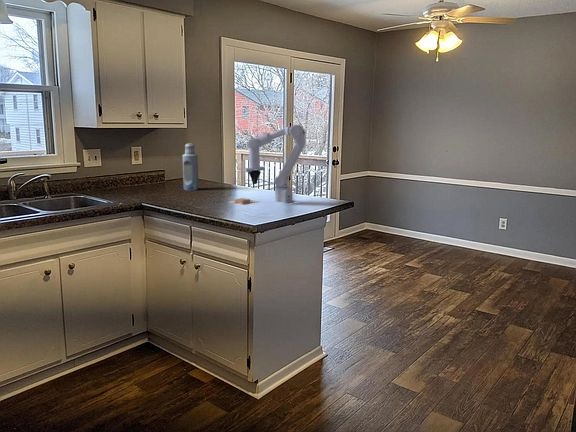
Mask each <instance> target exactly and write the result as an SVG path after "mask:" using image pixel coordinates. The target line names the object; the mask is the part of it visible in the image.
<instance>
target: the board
mask: <svg viewBox="0 0 576 432" xmlns="http://www.w3.org/2000/svg"><path fill="white" fill-rule="evenodd" d="M228 203H230V204H237V205H242V206H247V205H252V204H256V203H257V204H258V203H260V200H259V201H258V200H253V199H252V200H251V199H250V202H249V203H244V204H241V203H235V199H234V200H231V201H230V200H229V201H228Z"/></svg>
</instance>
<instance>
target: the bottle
mask: <svg viewBox="0 0 576 432" xmlns="http://www.w3.org/2000/svg"><path fill="white" fill-rule="evenodd" d="M198 159H199V158H198V154H196V151H195V144H193V143H186V144H185V145H184V154H182V180H183V190H184V191H197V190H199V169H198V168H199V162H198Z"/></svg>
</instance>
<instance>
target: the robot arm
mask: <svg viewBox="0 0 576 432" xmlns="http://www.w3.org/2000/svg"><path fill="white" fill-rule="evenodd" d="M282 136H291V138H292V139H293V141H294V144H295V145H294V147H293V149H292V150H291V152H290V153H289V155H288V158H287V160H286V161H285V164H284V165H283V167H282V169H281V171H279V172H278V175H277V176H275V178H274V180H273V183H274V185H275V186H274V201H275V202H276V203H282V204H285V205H287V204H288V203H290V204H291V203H292V204H293V190H292V188H291V187H289V185H288V183H289V179H290V176H291V172H292V170H293V169H294V166H295V165H296V163H297V161H298V159H299V158H300V155H301V154H302V152H303V149H304V148H305V146H306V131H305V129H304V127H303V126H302V125H301V124H293V125H290V126H287V127H284V128H281V129H279V130H276V131H275V132H272V133H269V132H263V133H262V134H260V135H257V136H255V137H252V138H250V139H249V140H248V141H247V146H248V148H249V151H248V153H249V154H248V155H249V157H248V159H249V160H248V161H249V166H248V167H245V168H244V169H243V170H244V173H248V174H249V176H250V178H251V182H252V184H253V185H257V184H258V180H259V177H260V175H261V173H262V172H261V171H265V168H266V167H265V166H261V163H260V147H263V146H265V145H268V144H271V143H272V142H273V140H274V139H277V138H280V137H282Z"/></svg>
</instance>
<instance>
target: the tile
mask: <svg viewBox="0 0 576 432" xmlns="http://www.w3.org/2000/svg"><path fill="white" fill-rule="evenodd" d="M234 200H235V203H234V204H236V203H241V204H240V205H242V204H244V203H249V202H250V200H251V199H250V198H243V197H242V198H236V199H234Z"/></svg>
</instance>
